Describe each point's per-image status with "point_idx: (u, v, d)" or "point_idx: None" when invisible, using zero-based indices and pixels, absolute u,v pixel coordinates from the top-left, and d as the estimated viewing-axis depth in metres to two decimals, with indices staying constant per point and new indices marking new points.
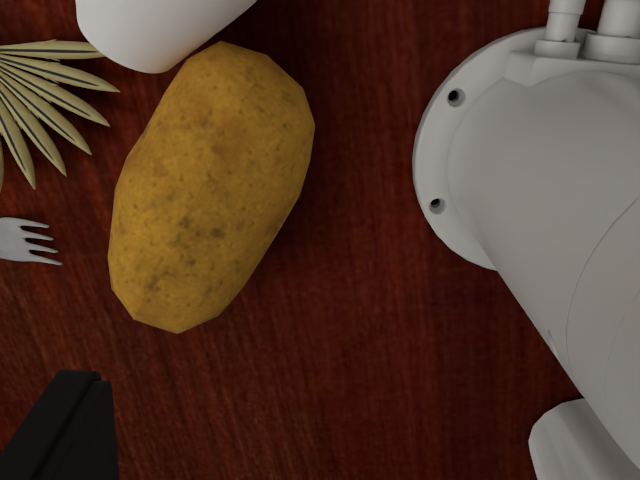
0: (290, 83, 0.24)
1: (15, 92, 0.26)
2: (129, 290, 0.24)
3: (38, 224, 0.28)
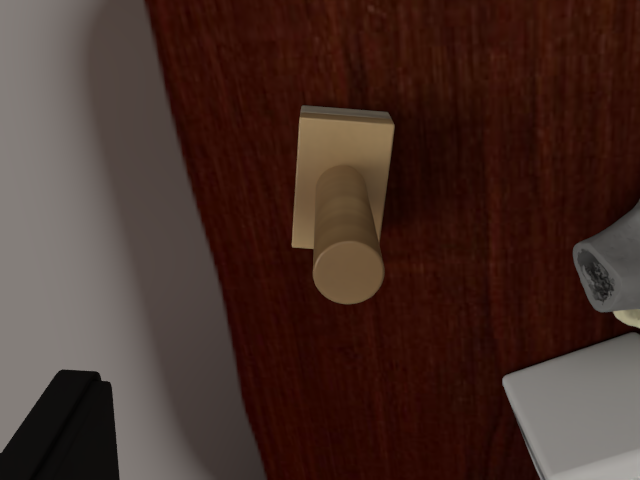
0: None
1: None
2: None
3: None
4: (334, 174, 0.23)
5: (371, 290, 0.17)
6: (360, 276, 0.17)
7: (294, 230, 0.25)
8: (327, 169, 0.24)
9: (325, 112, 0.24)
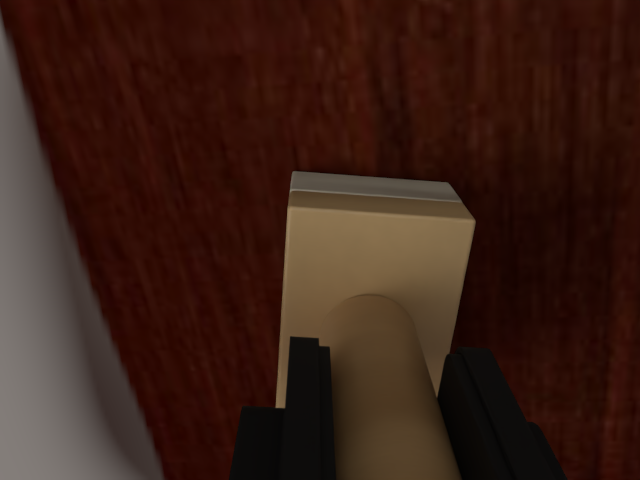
0: None
1: None
2: None
3: None
4: (359, 325, 0.11)
5: None
6: None
7: (279, 404, 0.14)
8: (342, 302, 0.12)
9: (337, 189, 0.13)
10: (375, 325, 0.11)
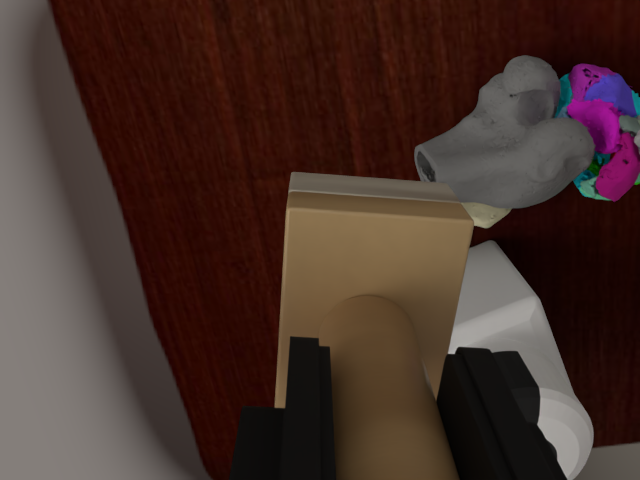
0: None
1: None
2: None
3: None
4: (357, 325, 0.11)
5: None
6: None
7: (278, 404, 0.14)
8: (341, 303, 0.12)
9: (336, 190, 0.13)
10: (374, 326, 0.11)
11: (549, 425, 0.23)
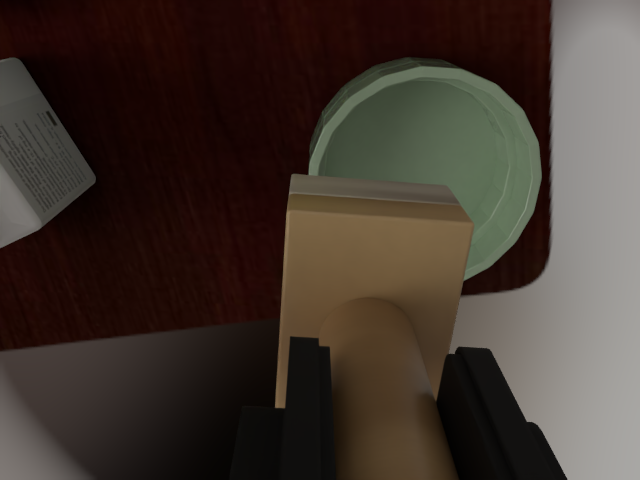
0: None
1: None
2: None
3: None
4: (358, 328, 0.11)
5: None
6: None
7: (278, 406, 0.14)
8: (341, 305, 0.12)
9: (336, 192, 0.13)
10: (374, 328, 0.11)
11: None
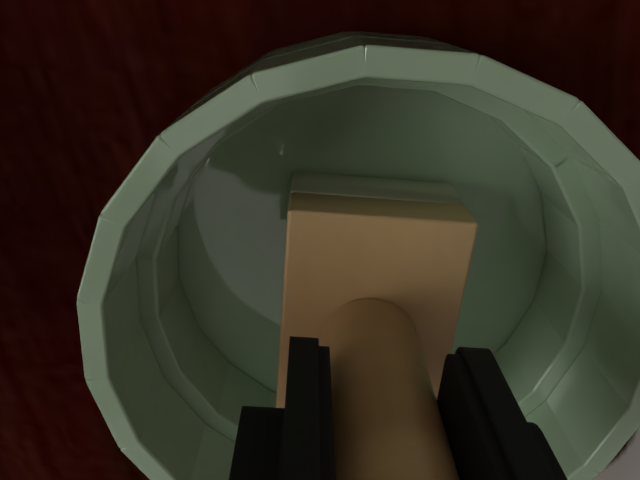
0: None
1: None
2: None
3: None
4: (359, 330, 0.11)
5: None
6: None
7: (279, 406, 0.13)
8: (342, 305, 0.12)
9: (338, 191, 0.13)
10: (376, 330, 0.11)
11: None
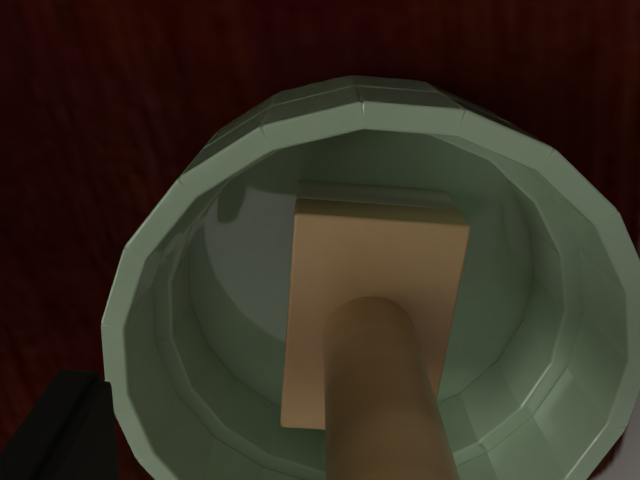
0: None
1: None
2: None
3: None
4: (360, 324, 0.12)
5: None
6: None
7: (284, 400, 0.14)
8: (345, 303, 0.13)
9: (340, 197, 0.14)
10: (376, 325, 0.12)
11: None
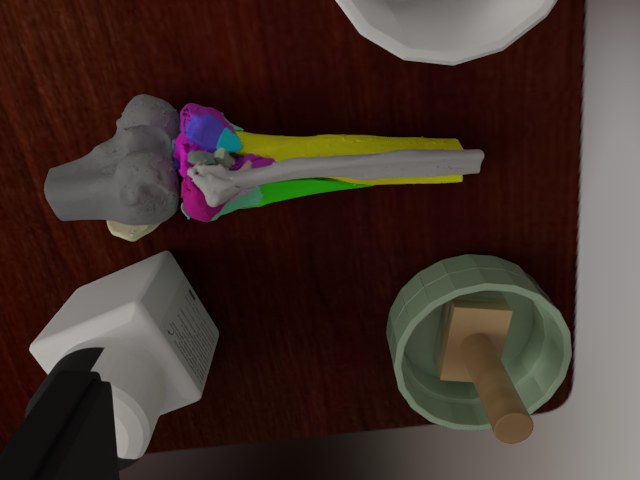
0: None
1: None
2: None
3: None
4: (477, 344, 0.37)
5: (525, 436, 0.31)
6: (520, 430, 0.31)
7: (443, 370, 0.39)
8: (469, 336, 0.38)
9: (465, 297, 0.38)
10: (483, 344, 0.37)
11: None
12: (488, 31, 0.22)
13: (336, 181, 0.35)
